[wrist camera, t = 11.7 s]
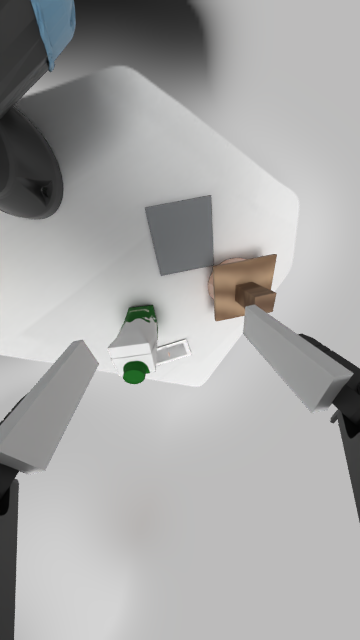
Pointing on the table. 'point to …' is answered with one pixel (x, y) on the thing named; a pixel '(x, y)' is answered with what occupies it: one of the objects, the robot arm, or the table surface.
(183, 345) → the touchpad
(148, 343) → the milk carton
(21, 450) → the robot arm
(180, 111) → the table surface
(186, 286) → the table surface
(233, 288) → the cover board
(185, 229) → the mat
